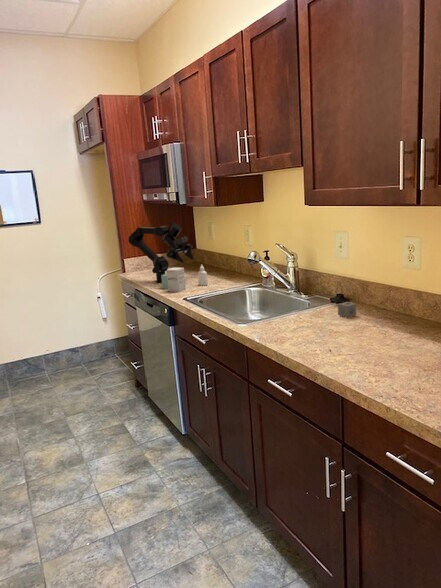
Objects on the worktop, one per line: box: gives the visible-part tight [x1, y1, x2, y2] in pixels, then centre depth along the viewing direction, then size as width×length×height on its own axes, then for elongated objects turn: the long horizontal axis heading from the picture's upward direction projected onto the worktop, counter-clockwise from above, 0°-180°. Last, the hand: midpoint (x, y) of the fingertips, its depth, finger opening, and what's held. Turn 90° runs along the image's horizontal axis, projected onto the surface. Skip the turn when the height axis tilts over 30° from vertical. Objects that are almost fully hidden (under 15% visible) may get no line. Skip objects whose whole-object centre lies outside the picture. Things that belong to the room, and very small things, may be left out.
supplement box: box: [166, 267, 187, 293], centre depth 255 cm, size 7×7×13 cm
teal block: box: [161, 273, 168, 290], centre depth 264 cm, size 5×5×8 cm
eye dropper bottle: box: [197, 264, 209, 287], centre depth 265 cm, size 4×6×12 cm
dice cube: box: [337, 301, 357, 318], centre depth 185 cm, size 5×5×5 cm
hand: (188, 260), depth 269 cm, fingers open, 9 cm apart
